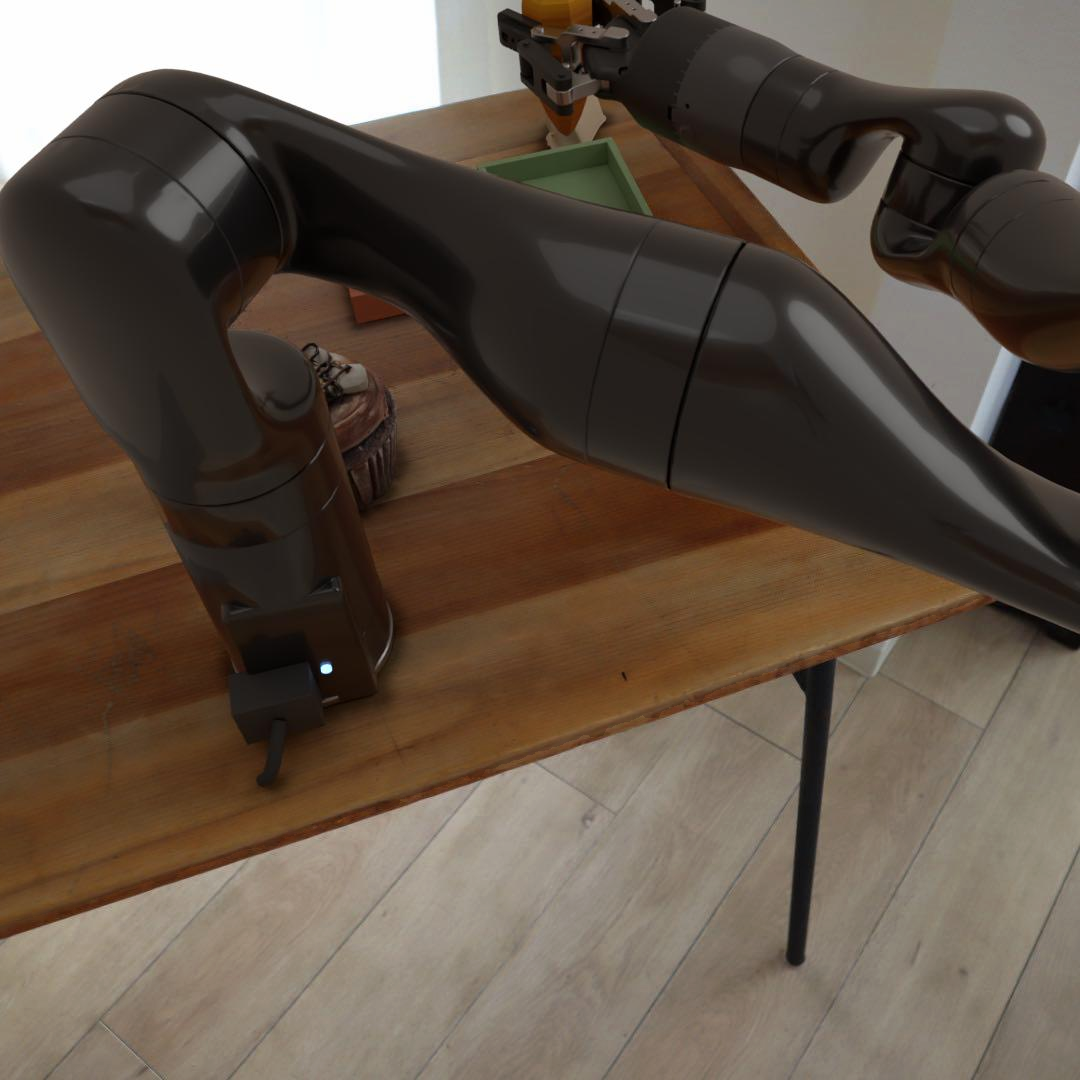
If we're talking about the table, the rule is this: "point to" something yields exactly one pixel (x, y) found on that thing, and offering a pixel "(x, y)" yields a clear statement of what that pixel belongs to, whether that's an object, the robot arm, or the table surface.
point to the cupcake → (359, 421)
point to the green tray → (577, 174)
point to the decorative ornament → (578, 126)
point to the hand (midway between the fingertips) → (530, 9)
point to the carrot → (558, 7)
